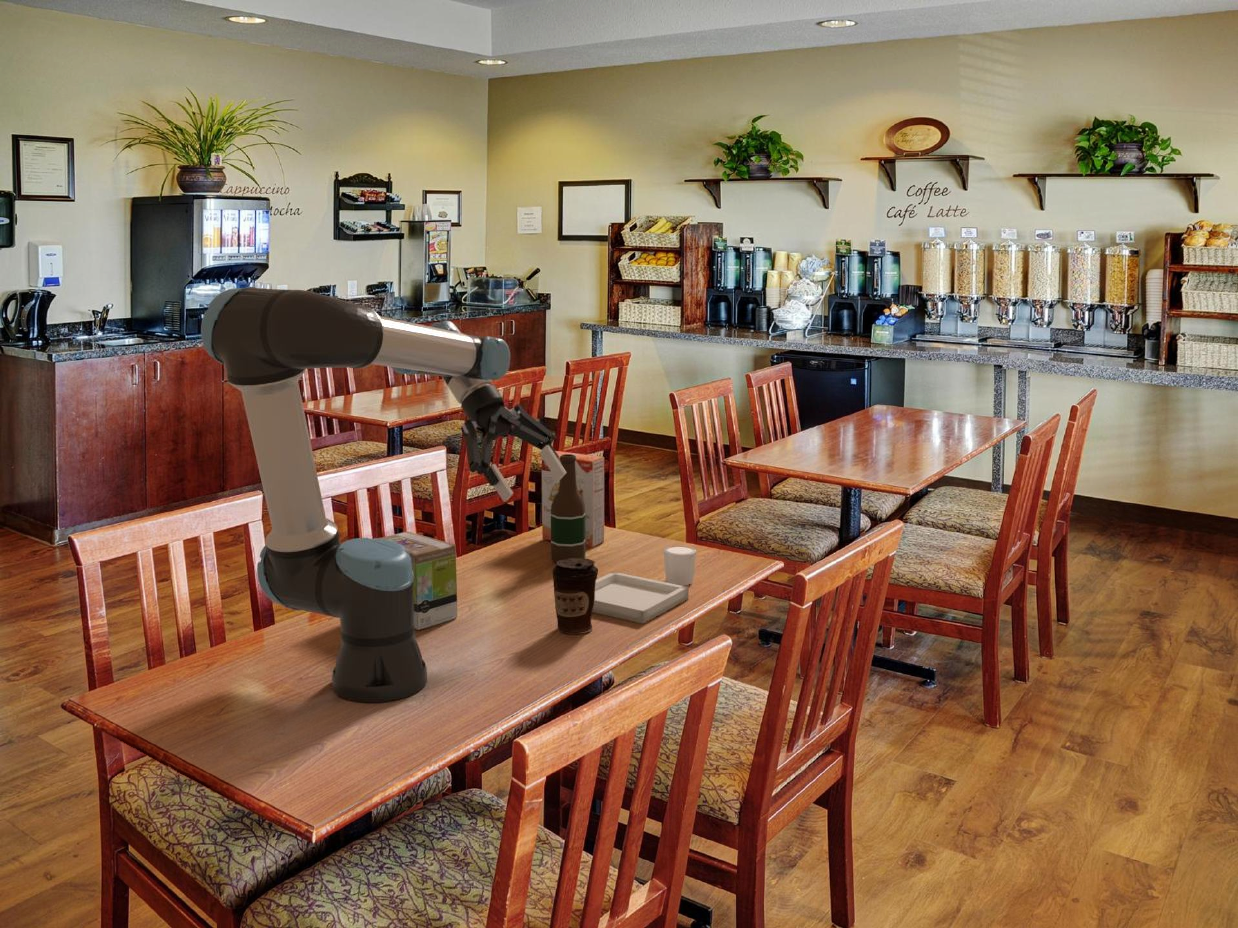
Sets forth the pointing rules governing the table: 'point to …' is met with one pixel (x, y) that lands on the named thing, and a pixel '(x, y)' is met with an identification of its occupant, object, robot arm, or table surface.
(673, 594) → the tray
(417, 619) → the tea box
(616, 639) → the table surface
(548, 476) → the cracker box
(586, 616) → the coffee cup
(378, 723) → the table surface
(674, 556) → the shot glass
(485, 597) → the table surface
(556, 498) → the beer bottle
